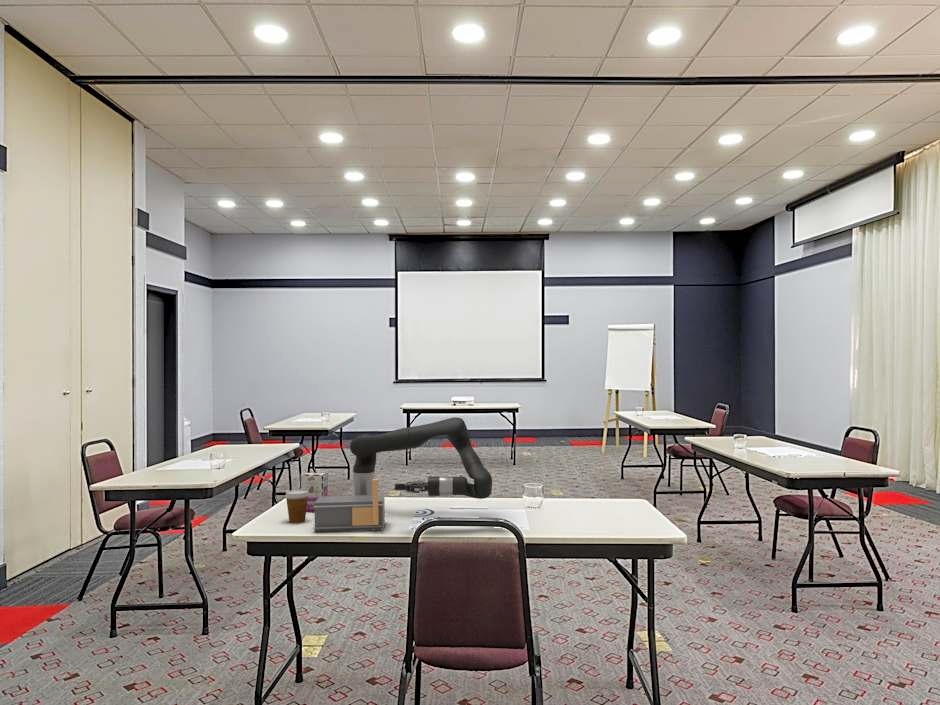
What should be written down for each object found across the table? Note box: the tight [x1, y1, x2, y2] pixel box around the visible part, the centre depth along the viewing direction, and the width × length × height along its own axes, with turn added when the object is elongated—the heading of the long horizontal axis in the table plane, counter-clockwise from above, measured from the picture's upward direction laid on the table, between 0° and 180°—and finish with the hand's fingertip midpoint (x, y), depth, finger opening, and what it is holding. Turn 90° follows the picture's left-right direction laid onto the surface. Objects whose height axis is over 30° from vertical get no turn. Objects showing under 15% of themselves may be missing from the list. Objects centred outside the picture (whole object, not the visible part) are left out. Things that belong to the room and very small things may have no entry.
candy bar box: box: [299, 472, 329, 513], centre depth 287 cm, size 11×5×16 cm, turn 73°
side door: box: [352, 478, 379, 526], centre depth 251 cm, size 4×10×18 cm, turn 94°
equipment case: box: [313, 494, 386, 532], centre depth 257 cm, size 14×26×11 cm, turn 94°
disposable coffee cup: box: [285, 489, 309, 524], centre depth 269 cm, size 10×10×12 cm
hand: (395, 487), depth 251 cm, fingers closed
